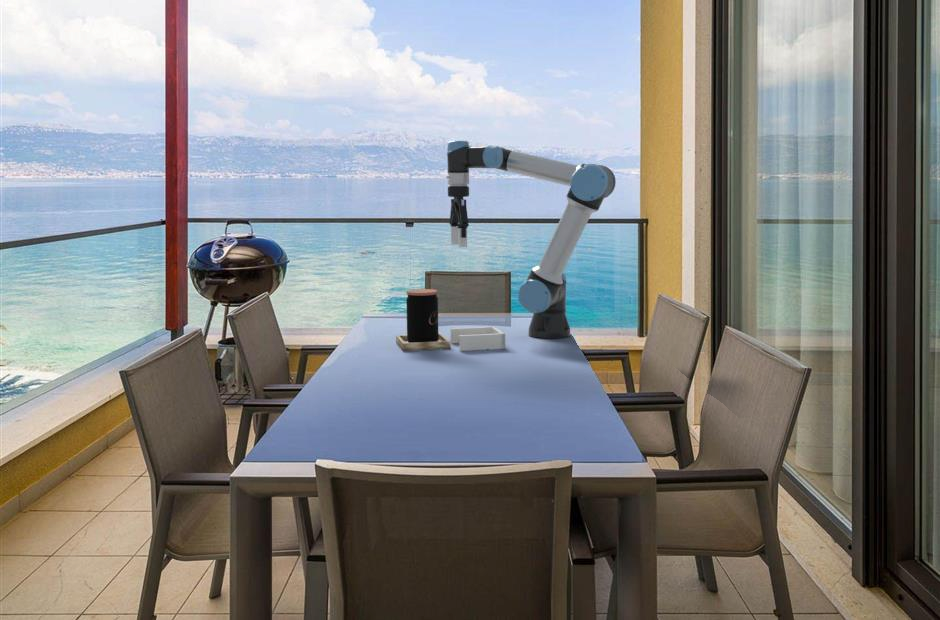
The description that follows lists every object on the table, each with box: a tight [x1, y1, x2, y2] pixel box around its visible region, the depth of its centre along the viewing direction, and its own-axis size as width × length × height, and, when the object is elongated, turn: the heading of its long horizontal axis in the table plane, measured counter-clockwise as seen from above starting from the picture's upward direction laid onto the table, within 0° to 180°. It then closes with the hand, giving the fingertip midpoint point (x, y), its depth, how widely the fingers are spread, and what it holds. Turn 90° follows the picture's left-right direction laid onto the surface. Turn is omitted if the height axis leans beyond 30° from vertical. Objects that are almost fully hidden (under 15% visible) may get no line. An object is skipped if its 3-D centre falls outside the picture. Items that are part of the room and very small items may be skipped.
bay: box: [450, 326, 506, 352], centre depth 289 cm, size 15×15×5 cm
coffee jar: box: [405, 288, 439, 343], centre depth 289 cm, size 11×11×18 cm
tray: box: [395, 332, 451, 352], centre depth 290 cm, size 16×16×2 cm
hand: (458, 245), depth 303 cm, fingers open, 13 cm apart
